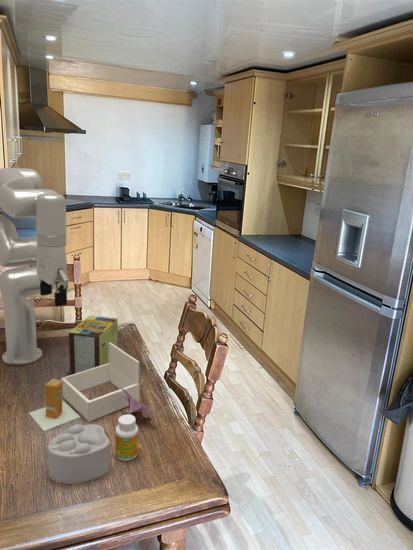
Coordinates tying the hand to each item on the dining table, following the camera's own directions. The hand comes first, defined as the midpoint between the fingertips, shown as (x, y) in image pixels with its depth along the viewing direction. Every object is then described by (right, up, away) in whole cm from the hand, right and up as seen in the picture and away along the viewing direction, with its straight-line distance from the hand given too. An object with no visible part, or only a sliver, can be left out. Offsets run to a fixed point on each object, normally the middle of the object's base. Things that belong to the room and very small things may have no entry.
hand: (53, 299), depth 121 cm
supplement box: (+2, -31, -3) cm, 32 cm away
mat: (+1, -32, -3) cm, 32 cm away
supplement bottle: (+23, -37, -16) cm, 46 cm away
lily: (+23, -33, -2) cm, 41 cm away
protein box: (+5, -24, +24) cm, 35 cm away
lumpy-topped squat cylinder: (+13, -38, -21) cm, 45 cm away
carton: (+12, -30, +6) cm, 32 cm away
